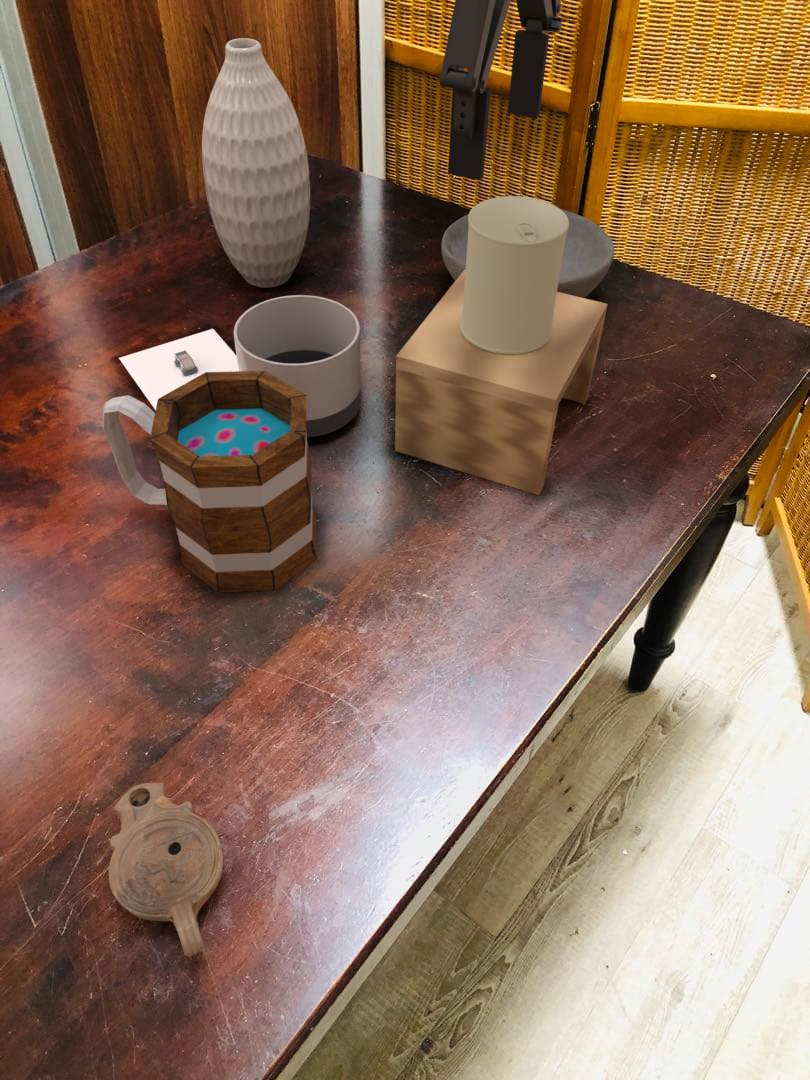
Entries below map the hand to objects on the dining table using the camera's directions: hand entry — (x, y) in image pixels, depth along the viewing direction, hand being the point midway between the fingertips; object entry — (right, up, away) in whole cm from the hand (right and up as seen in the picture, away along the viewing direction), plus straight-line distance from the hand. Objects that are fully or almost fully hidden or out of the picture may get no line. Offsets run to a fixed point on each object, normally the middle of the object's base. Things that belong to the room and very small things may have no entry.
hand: (496, 143), depth 73 cm
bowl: (+7, -2, +41) cm, 42 cm away
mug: (-25, -33, +11) cm, 43 cm away
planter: (-19, -19, +24) cm, 36 cm away
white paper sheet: (-33, -13, +29) cm, 46 cm away
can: (+2, -12, +15) cm, 19 cm away
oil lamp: (-24, -57, -12) cm, 63 cm away
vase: (-26, +2, +44) cm, 51 cm away
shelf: (+2, -20, +23) cm, 31 cm away
